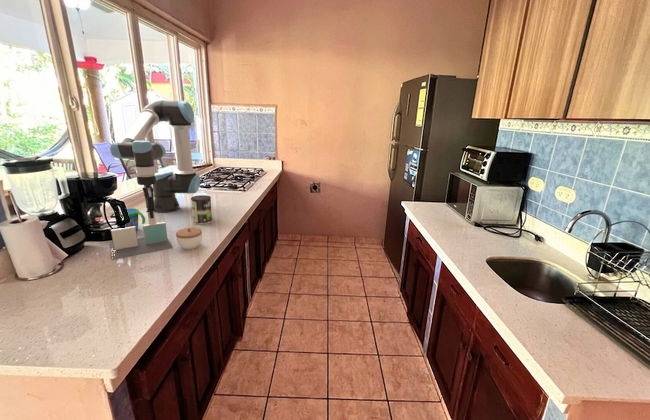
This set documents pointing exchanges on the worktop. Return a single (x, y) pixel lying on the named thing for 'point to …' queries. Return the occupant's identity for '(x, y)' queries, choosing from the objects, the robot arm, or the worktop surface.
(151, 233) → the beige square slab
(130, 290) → the worktop surface
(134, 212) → the snack cup
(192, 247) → the lidded jar
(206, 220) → the coffee can
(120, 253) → the mat
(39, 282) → the worktop surface
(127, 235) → the white square tile
